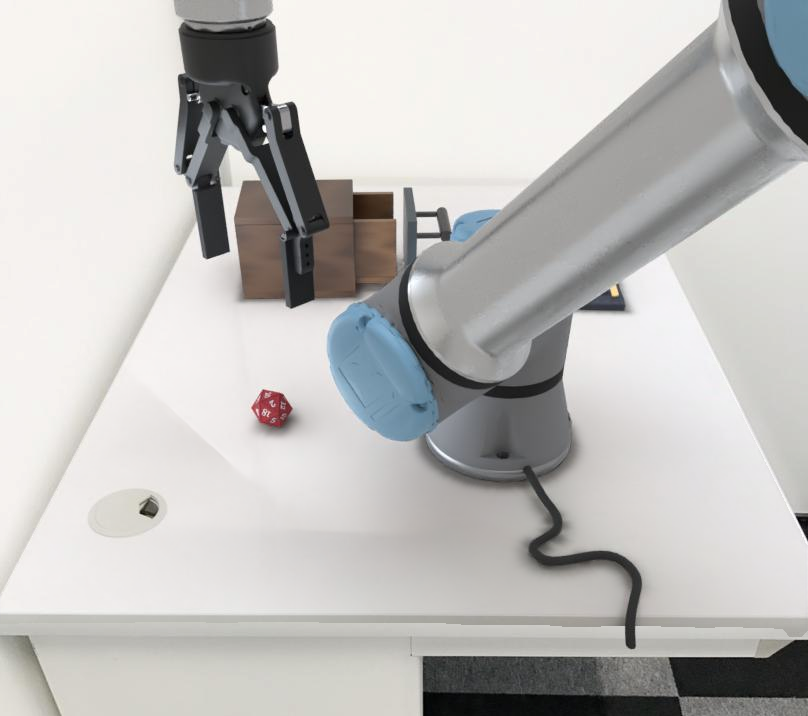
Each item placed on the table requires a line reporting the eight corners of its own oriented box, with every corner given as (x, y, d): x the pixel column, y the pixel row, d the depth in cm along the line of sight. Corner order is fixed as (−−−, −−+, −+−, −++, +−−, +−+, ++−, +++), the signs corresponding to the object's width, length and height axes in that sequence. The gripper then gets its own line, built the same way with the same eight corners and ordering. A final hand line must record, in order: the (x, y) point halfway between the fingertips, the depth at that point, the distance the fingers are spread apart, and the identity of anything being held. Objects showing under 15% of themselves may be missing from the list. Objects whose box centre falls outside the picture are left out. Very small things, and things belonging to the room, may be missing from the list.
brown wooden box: (355, 255, 123) (352, 179, 115) (355, 297, 113) (353, 216, 106) (252, 257, 122) (242, 180, 115) (244, 298, 113) (233, 218, 105)
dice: (256, 413, 93) (251, 382, 90) (296, 414, 93) (293, 383, 90) (250, 433, 90) (245, 401, 88) (292, 434, 90) (288, 402, 87)
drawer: (444, 249, 122) (447, 186, 116) (451, 286, 114) (455, 220, 108) (316, 251, 121) (312, 188, 115) (313, 289, 113) (309, 222, 107)
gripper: (367, 41, 61) (373, 311, 76) (181, -12, 75) (216, 226, 89) (283, 59, 57) (306, 340, 72) (103, 0, 71) (153, 247, 85)
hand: (256, 278), depth 80 cm, fingers open, 13 cm apart
